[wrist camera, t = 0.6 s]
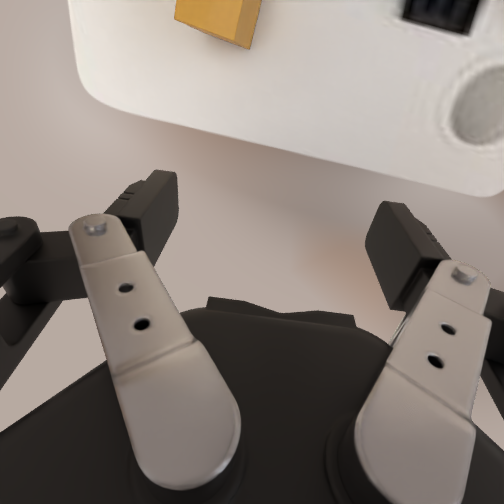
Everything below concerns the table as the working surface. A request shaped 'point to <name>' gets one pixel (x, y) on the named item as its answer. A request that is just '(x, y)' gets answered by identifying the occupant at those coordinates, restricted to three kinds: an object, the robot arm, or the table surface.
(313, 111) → the table surface
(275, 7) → the table surface
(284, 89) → the table surface
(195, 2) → the block
